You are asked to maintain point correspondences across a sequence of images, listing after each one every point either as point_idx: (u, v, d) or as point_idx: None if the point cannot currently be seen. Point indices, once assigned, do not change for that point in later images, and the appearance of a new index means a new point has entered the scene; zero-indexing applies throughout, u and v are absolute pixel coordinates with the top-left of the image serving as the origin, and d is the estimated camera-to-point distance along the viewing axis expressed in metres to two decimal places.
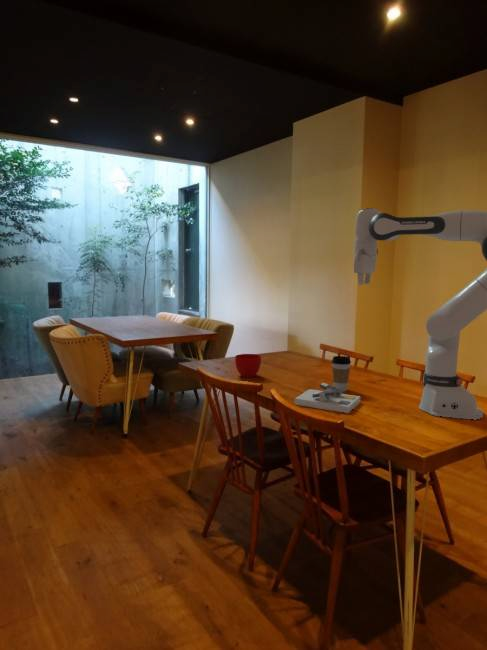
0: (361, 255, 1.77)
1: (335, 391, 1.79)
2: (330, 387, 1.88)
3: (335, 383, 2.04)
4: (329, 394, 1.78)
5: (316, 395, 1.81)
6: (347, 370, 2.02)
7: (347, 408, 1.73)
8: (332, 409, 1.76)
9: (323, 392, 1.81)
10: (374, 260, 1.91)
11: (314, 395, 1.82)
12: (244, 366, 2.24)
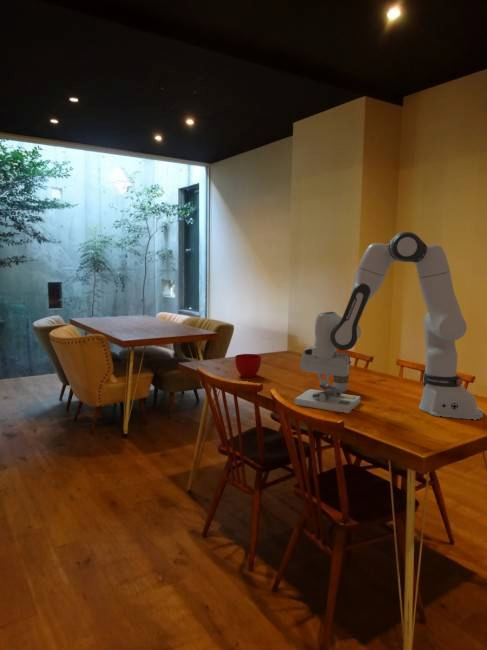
0: None
1: (335, 391, 1.79)
2: (330, 387, 1.88)
3: (335, 383, 2.04)
4: (329, 394, 1.78)
5: (316, 395, 1.81)
6: None
7: (347, 408, 1.73)
8: (332, 409, 1.76)
9: (323, 392, 1.81)
10: None
11: (314, 395, 1.82)
12: (244, 366, 2.24)
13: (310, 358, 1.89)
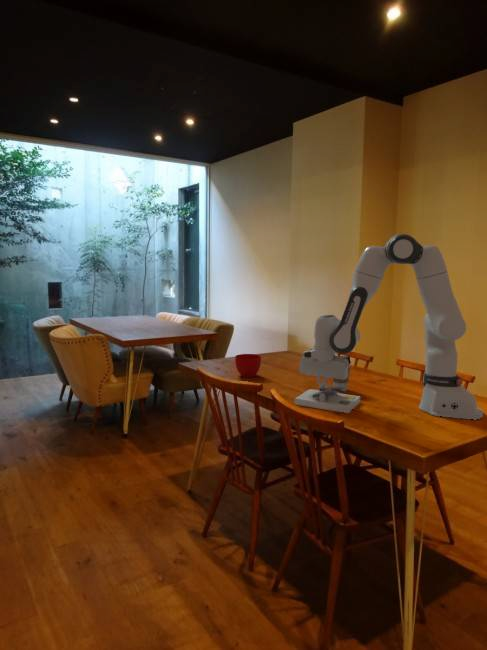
0: None
1: (335, 391, 1.79)
2: (329, 387, 1.88)
3: (335, 383, 2.04)
4: (329, 394, 1.78)
5: (316, 395, 1.81)
6: None
7: (347, 408, 1.73)
8: (332, 409, 1.76)
9: (323, 392, 1.81)
10: None
11: (314, 395, 1.82)
12: (244, 366, 2.24)
13: (309, 361, 1.89)
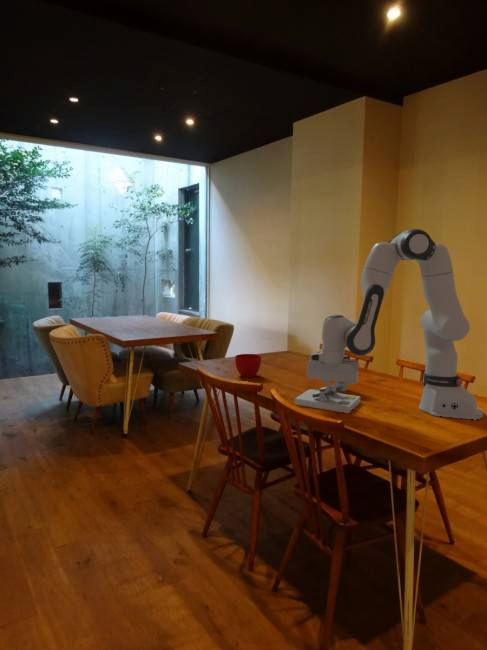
0: None
1: None
2: None
3: None
4: (329, 394, 1.78)
5: (316, 395, 1.81)
6: None
7: (347, 408, 1.73)
8: (332, 409, 1.76)
9: (323, 392, 1.81)
10: None
11: (314, 395, 1.82)
12: (244, 366, 2.24)
13: (317, 364, 1.79)
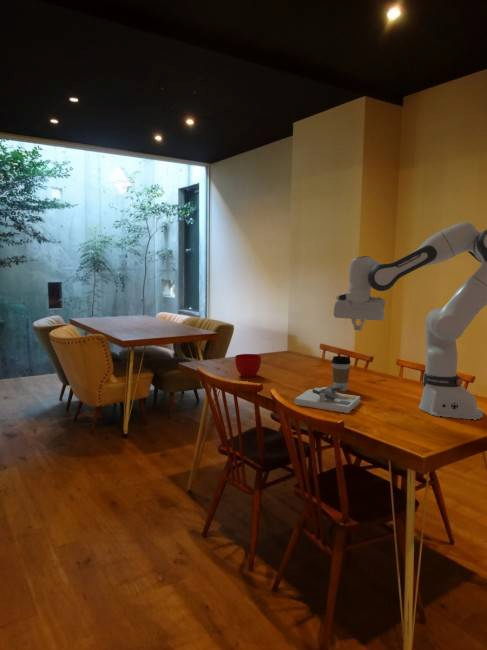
0: None
1: (335, 397, 1.79)
2: (329, 387, 1.88)
3: (335, 383, 2.04)
4: (329, 397, 1.79)
5: (316, 392, 1.81)
6: (347, 370, 2.02)
7: (347, 408, 1.73)
8: (332, 409, 1.76)
9: (324, 392, 1.81)
10: None
11: (314, 391, 1.81)
12: (244, 366, 2.24)
13: (344, 304, 1.87)
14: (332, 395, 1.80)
